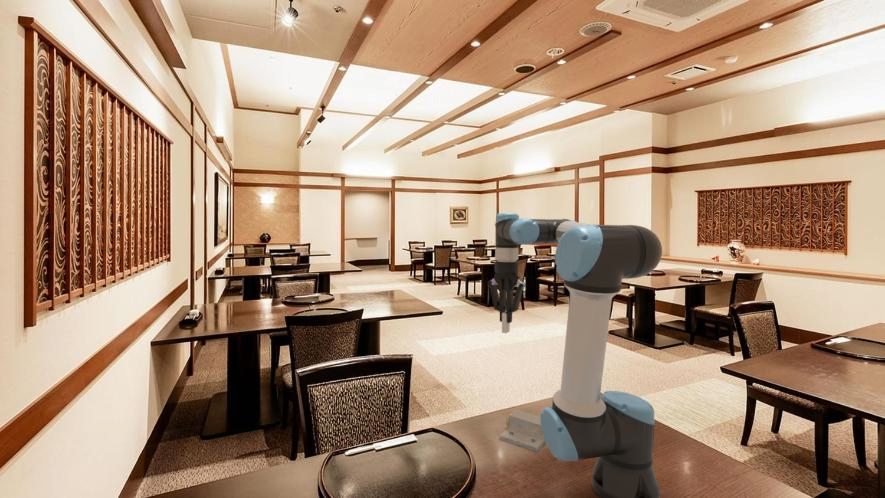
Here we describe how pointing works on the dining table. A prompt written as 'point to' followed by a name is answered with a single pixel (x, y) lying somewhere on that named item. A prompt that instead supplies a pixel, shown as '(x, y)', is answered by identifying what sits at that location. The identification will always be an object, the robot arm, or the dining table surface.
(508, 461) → the dining table surface
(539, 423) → the grey mounting bracket
